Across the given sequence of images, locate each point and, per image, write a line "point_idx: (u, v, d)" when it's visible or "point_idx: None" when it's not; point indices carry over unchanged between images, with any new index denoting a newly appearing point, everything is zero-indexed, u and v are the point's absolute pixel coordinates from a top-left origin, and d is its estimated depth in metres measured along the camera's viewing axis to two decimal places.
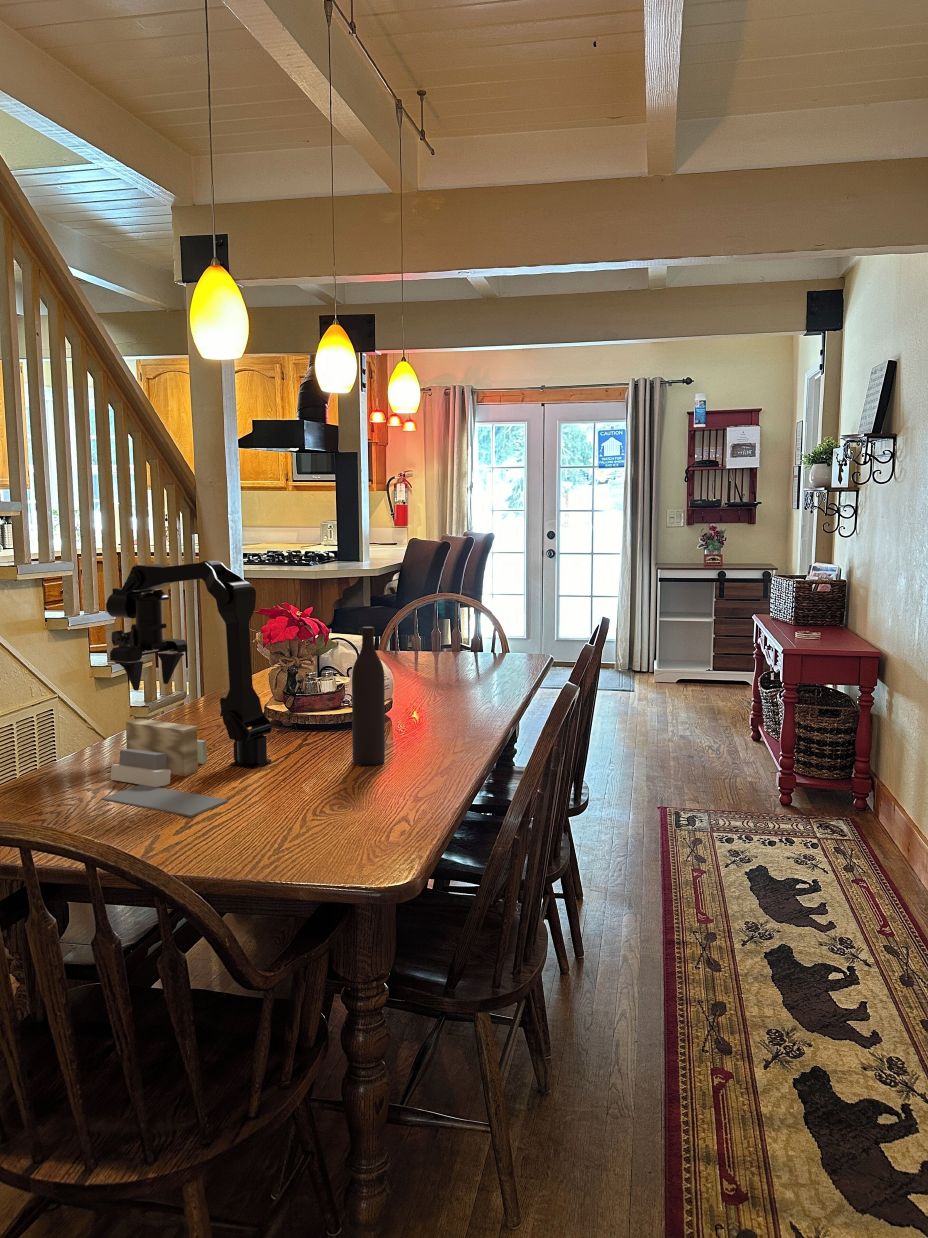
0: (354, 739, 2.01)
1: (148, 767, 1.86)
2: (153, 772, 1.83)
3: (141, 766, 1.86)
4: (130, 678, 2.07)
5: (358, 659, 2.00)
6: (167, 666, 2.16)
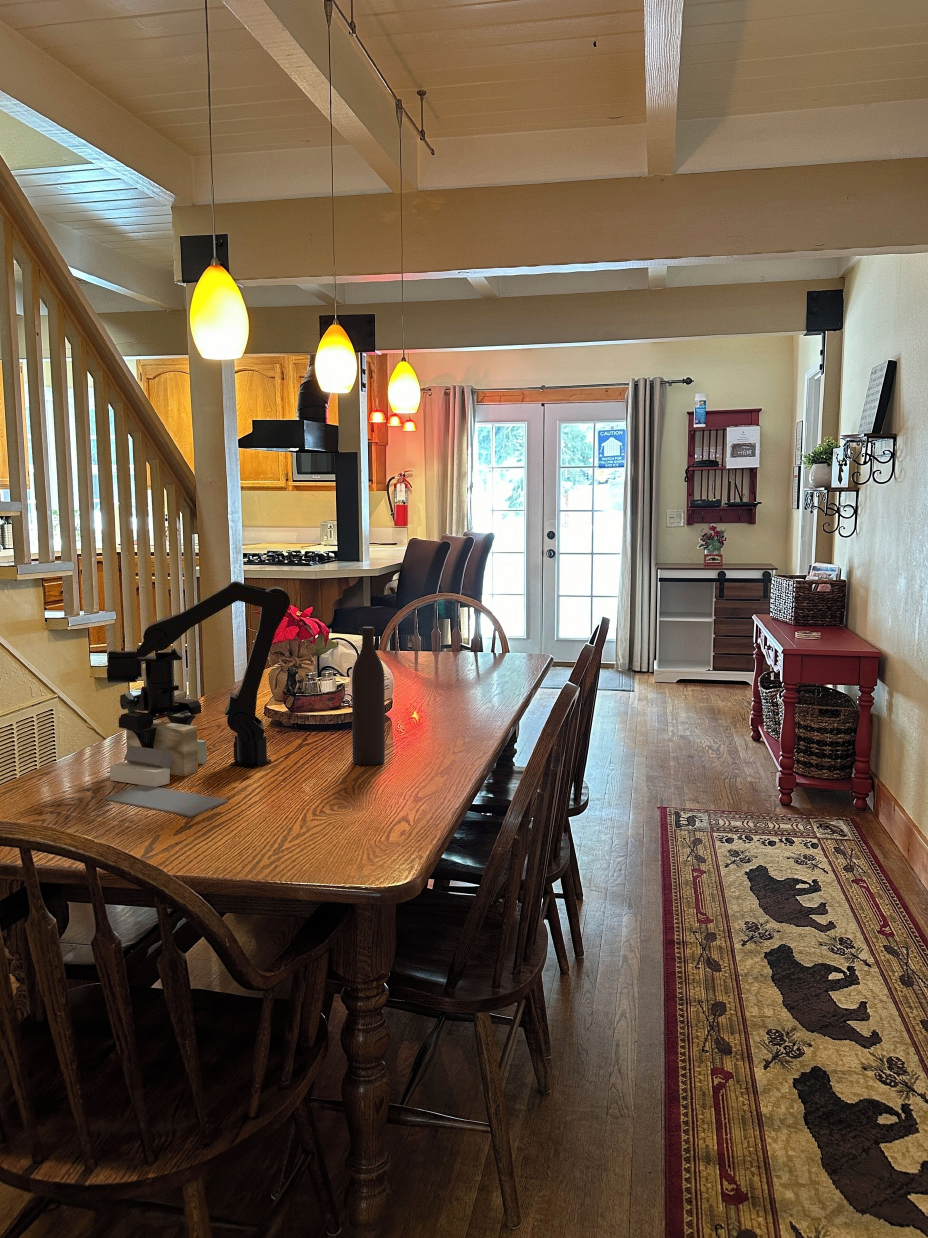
0: (354, 739, 2.01)
1: (153, 761, 1.86)
2: (152, 772, 1.83)
3: (146, 760, 1.87)
4: (142, 745, 1.92)
5: (358, 659, 2.00)
6: None
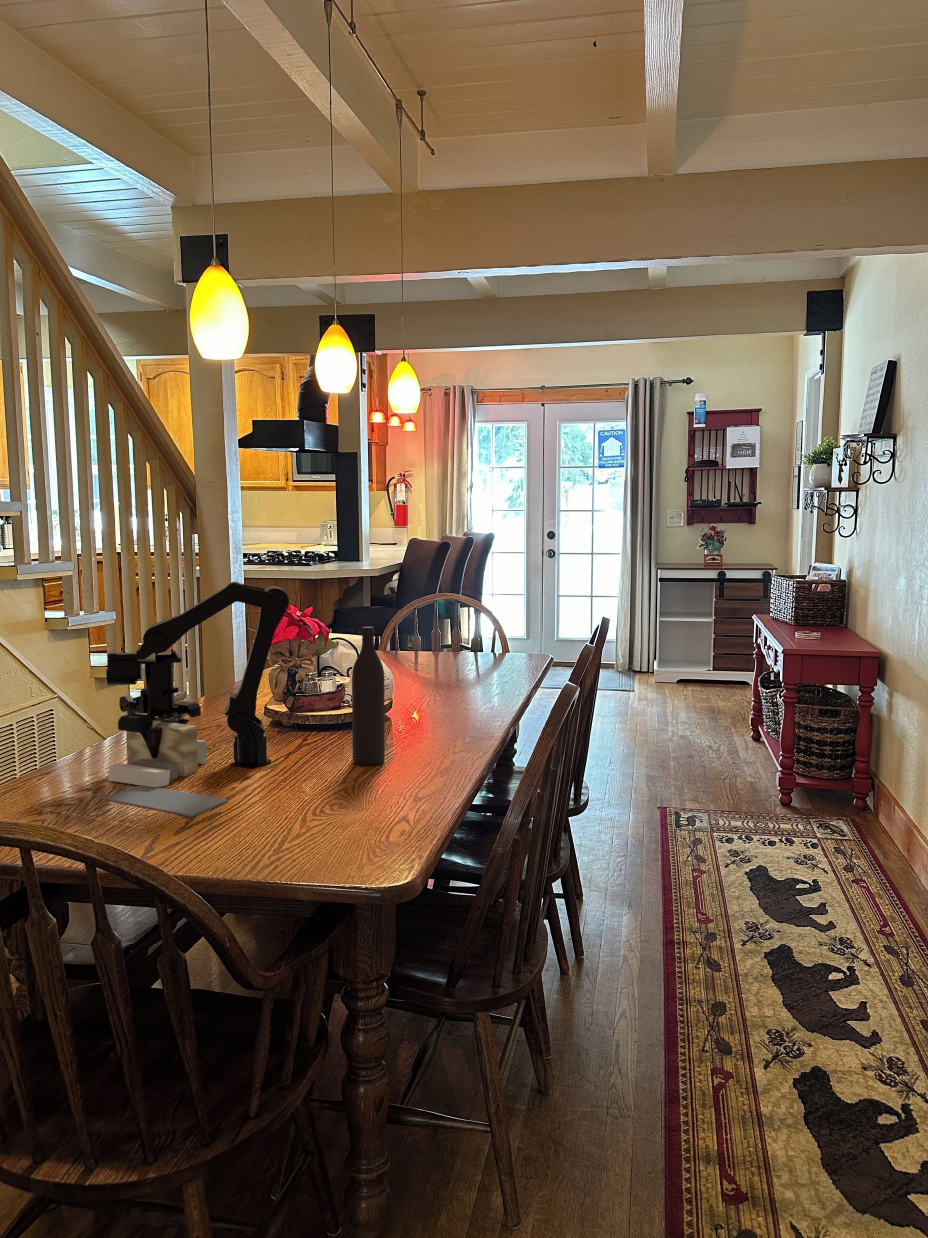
0: (354, 739, 2.01)
1: (163, 765, 1.89)
2: (152, 772, 1.83)
3: (156, 764, 1.90)
4: (148, 746, 1.94)
5: (358, 659, 2.00)
6: None
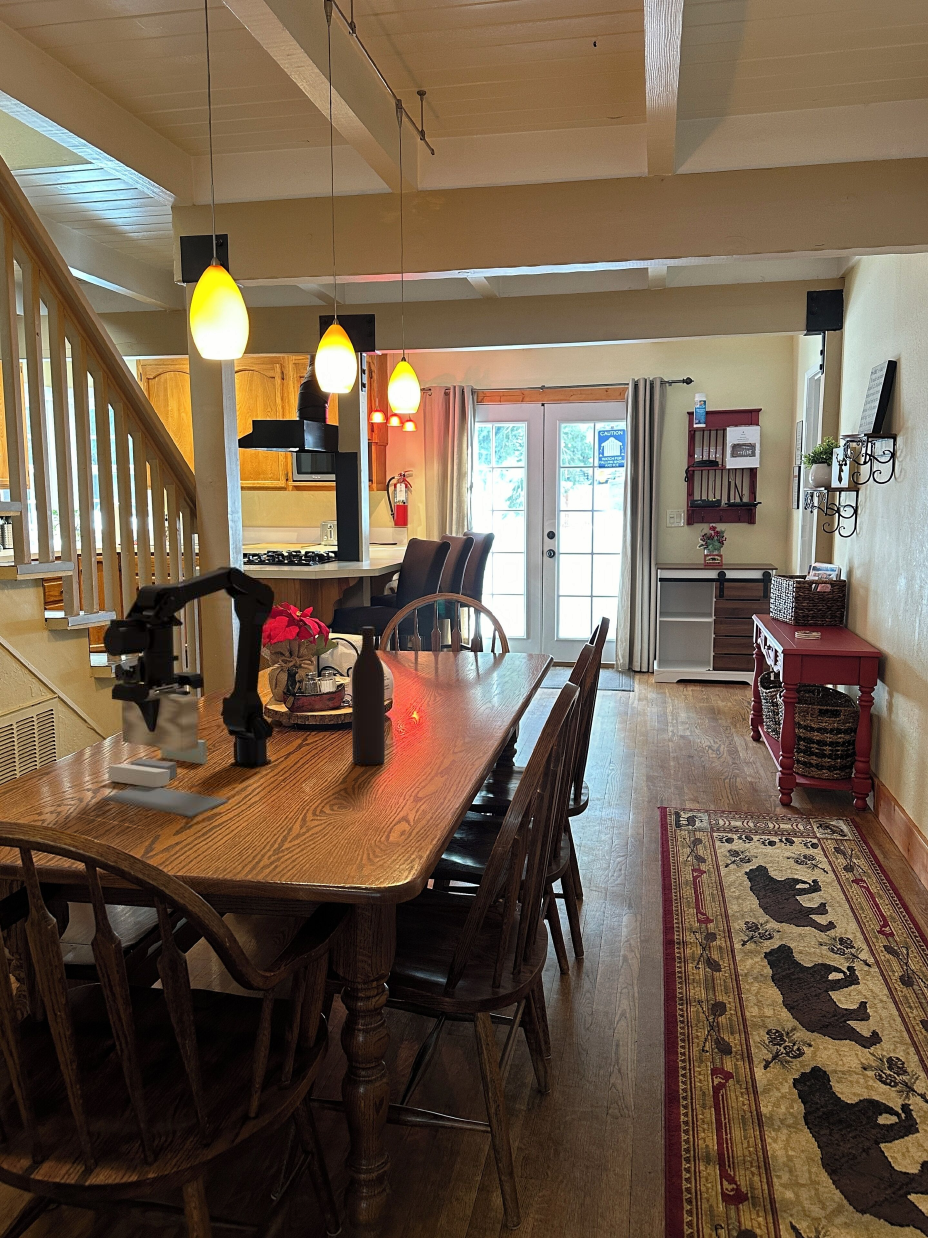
0: (354, 739, 2.01)
1: (162, 765, 1.89)
2: (153, 772, 1.83)
3: (155, 764, 1.89)
4: (145, 718, 1.78)
5: (358, 659, 2.00)
6: None
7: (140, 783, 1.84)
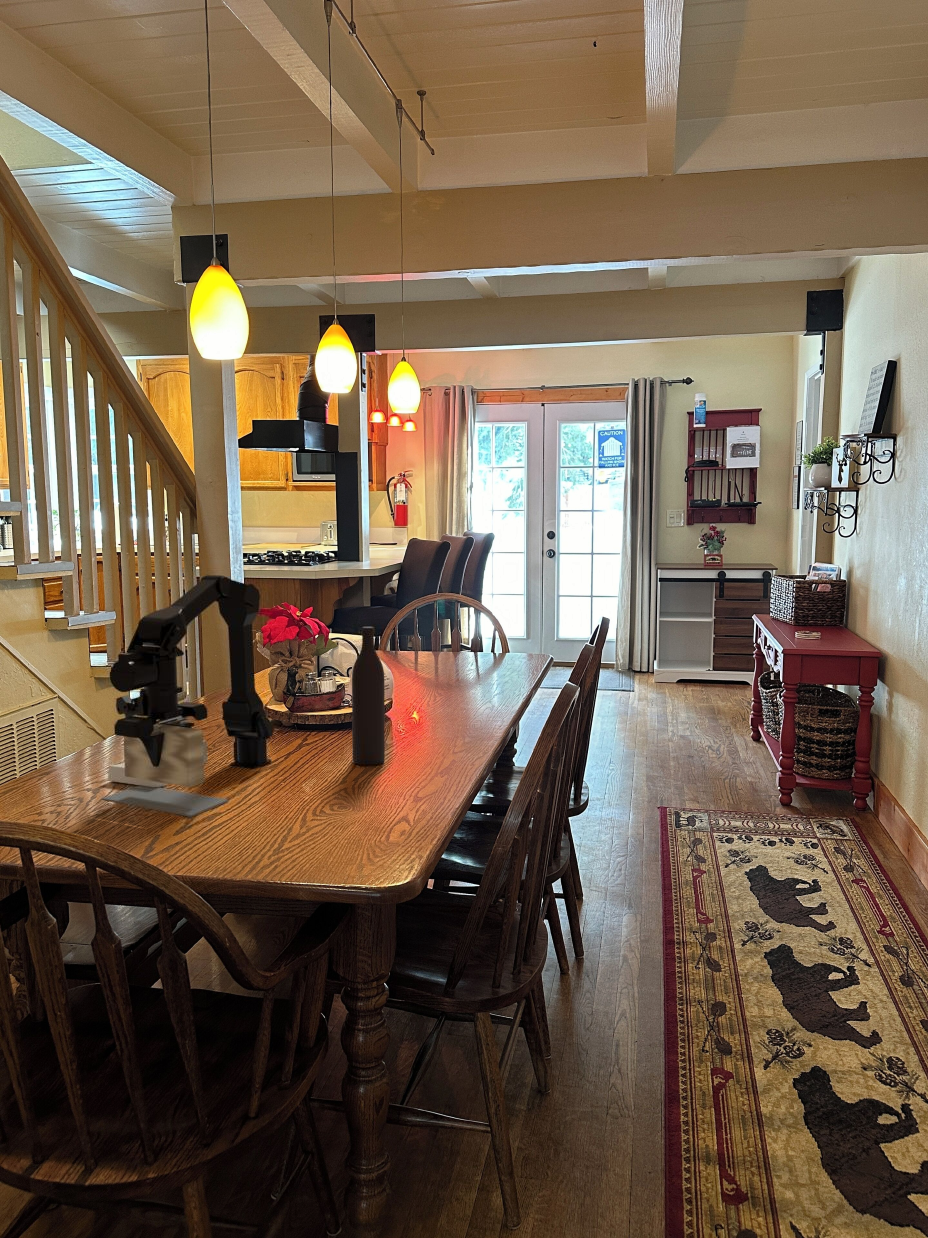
0: (354, 739, 2.01)
1: None
2: None
3: None
4: (149, 752, 1.72)
5: (358, 659, 2.00)
6: None
7: (140, 783, 1.84)
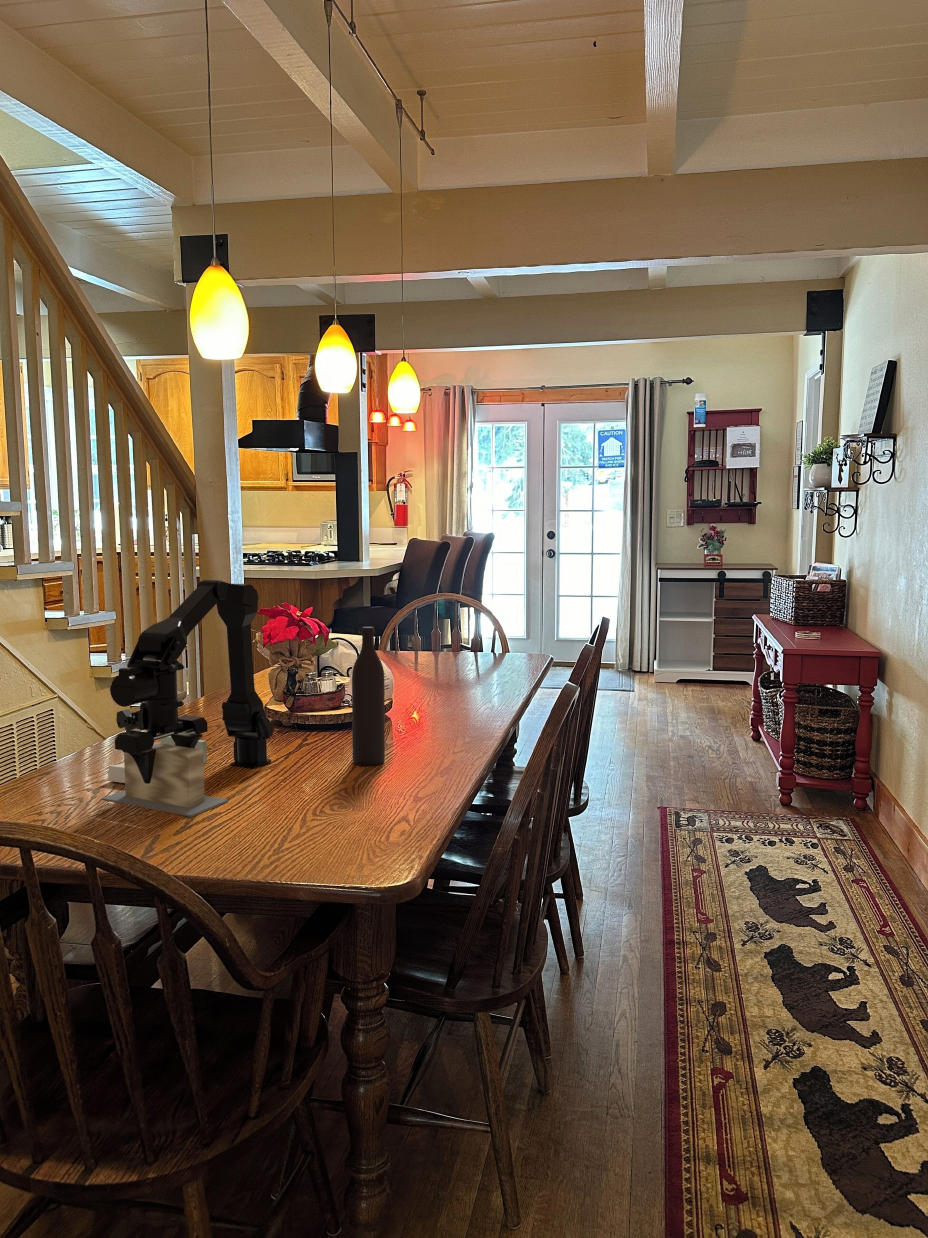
0: (354, 739, 2.01)
1: None
2: None
3: None
4: (140, 769, 1.70)
5: (358, 659, 2.00)
6: None
7: None
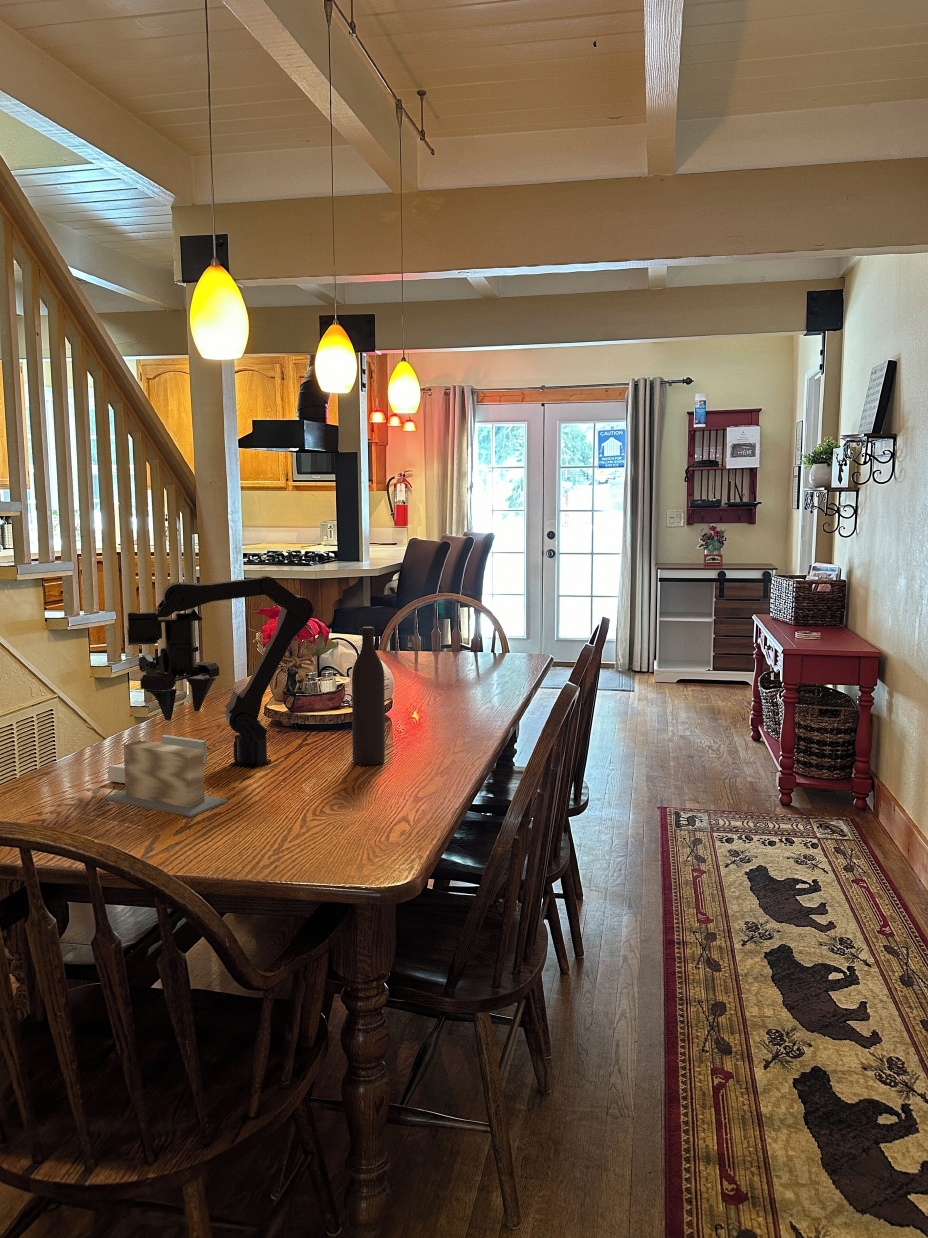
0: (354, 739, 2.01)
1: None
2: None
3: None
4: (162, 707, 1.90)
5: (358, 659, 2.00)
6: (198, 692, 1.99)
7: None
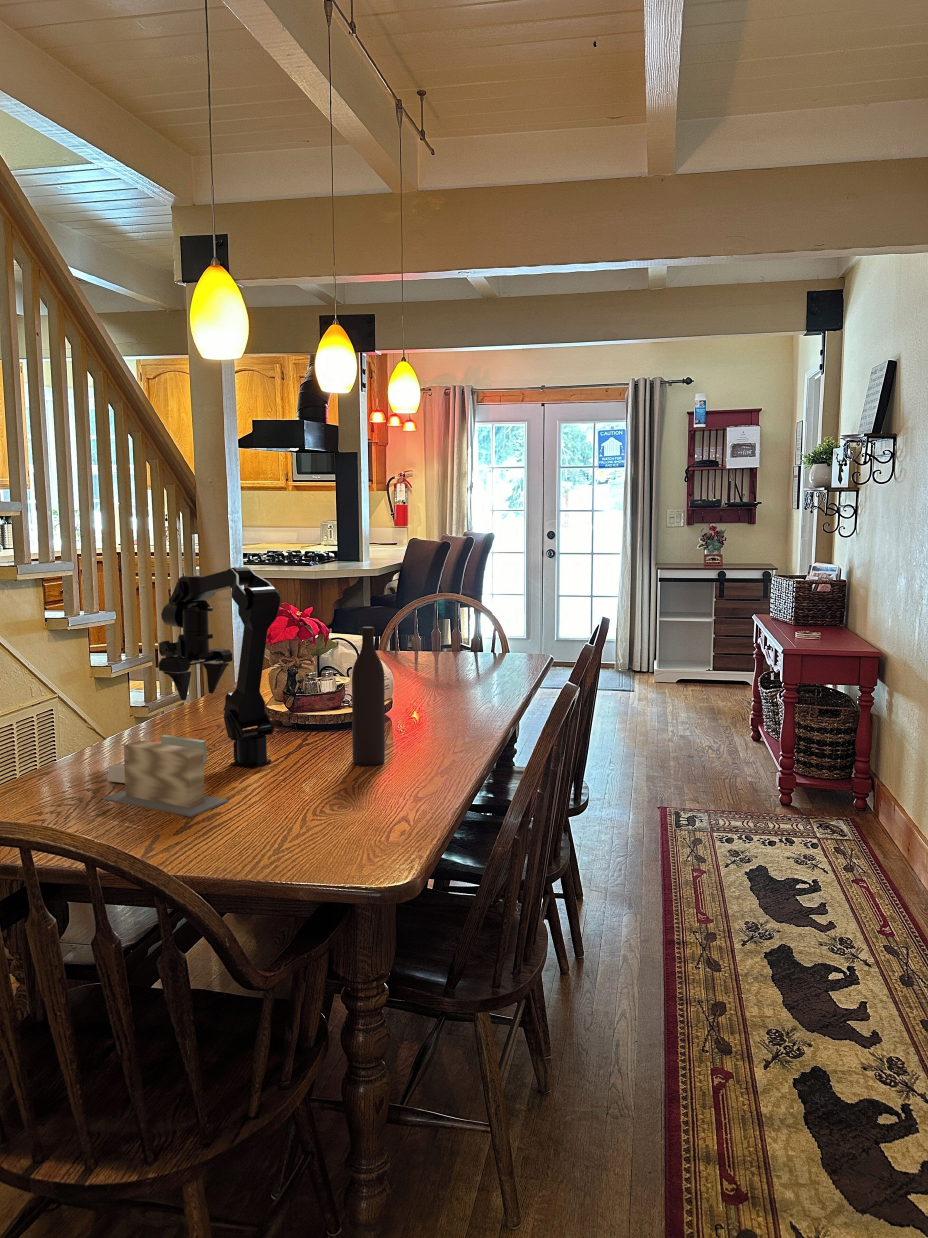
0: (354, 739, 2.01)
1: None
2: None
3: None
4: (178, 688, 2.09)
5: (358, 659, 2.00)
6: (213, 676, 2.18)
7: None
